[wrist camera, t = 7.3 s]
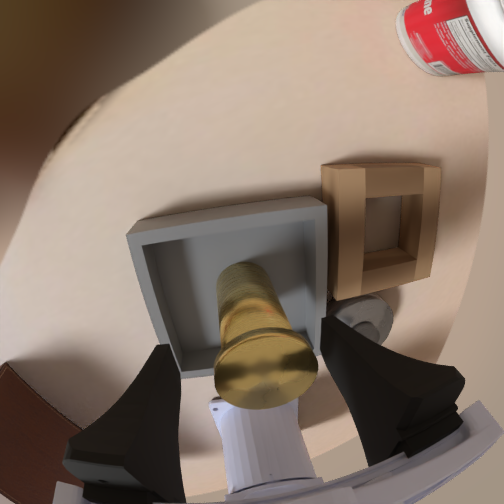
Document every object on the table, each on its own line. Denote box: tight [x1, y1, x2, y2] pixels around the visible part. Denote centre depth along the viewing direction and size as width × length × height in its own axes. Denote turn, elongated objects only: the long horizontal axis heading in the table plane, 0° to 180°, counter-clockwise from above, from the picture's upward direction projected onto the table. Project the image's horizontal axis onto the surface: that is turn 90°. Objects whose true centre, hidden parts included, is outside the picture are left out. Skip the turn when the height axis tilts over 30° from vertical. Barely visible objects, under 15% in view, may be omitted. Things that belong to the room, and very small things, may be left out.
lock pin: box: [214, 262, 318, 410], centre depth 14 cm, size 4×4×8 cm
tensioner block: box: [321, 163, 441, 301], centre depth 17 cm, size 8×8×2 cm
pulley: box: [326, 292, 393, 345], centre depth 19 cm, size 6×6×3 cm
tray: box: [126, 196, 328, 379], centre depth 17 cm, size 10×10×3 cm
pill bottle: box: [396, 0, 504, 76], centre depth 8 cm, size 6×6×11 cm
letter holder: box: [0, 363, 84, 504], centre depth 16 cm, size 10×20×14 cm, turn 29°
